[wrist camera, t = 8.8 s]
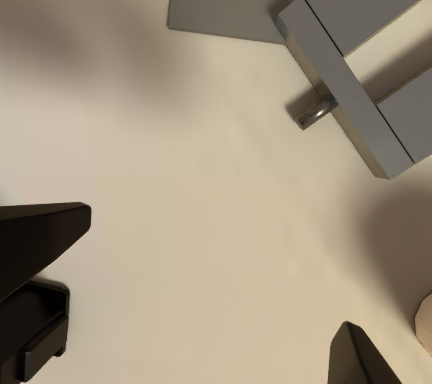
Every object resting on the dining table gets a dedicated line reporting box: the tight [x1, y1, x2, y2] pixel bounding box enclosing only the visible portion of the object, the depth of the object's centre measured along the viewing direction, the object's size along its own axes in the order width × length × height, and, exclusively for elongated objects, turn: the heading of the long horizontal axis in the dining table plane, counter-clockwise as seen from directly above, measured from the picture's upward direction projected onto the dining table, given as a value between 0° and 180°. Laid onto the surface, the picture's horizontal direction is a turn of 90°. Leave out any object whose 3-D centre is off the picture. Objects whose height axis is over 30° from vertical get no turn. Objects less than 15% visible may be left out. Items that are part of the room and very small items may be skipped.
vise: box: [275, 0, 432, 180], centre depth 16 cm, size 10×12×2 cm
